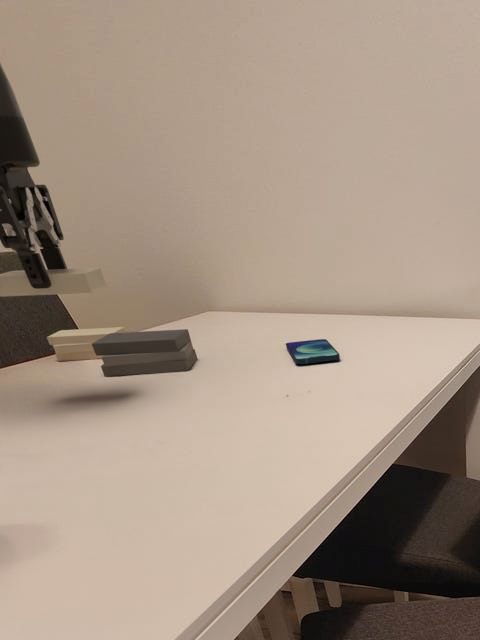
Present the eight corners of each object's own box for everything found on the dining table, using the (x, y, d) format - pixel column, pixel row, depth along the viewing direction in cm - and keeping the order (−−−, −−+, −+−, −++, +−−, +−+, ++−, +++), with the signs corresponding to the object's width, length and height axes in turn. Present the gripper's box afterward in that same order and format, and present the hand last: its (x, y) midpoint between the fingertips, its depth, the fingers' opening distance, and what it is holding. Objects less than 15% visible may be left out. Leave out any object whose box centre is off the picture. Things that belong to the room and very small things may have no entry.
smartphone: (326, 338, 110) (340, 354, 99) (326, 343, 110) (341, 360, 99) (284, 342, 108) (294, 359, 97) (286, 348, 108) (296, 365, 97)
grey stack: (101, 377, 95) (88, 345, 92) (118, 363, 102) (107, 333, 99) (189, 371, 97) (179, 339, 94) (200, 358, 104) (191, 328, 101)
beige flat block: (0, 296, 75) (-10, 276, 73) (20, 289, 79) (12, 270, 78) (92, 293, 76) (84, 273, 75) (106, 286, 81) (100, 267, 79)
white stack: (55, 362, 104) (44, 337, 102) (68, 353, 109) (59, 330, 107) (124, 357, 106) (115, 333, 103) (134, 349, 111) (126, 326, 109)
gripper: (-21, 119, 72) (44, 278, 82) (-89, 107, 61) (-4, 293, 71) (44, 118, 73) (101, 276, 83) (-11, 107, 62) (62, 291, 72)
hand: (52, 283), depth 77 cm, fingers closed on beige flat block, 6 cm apart
